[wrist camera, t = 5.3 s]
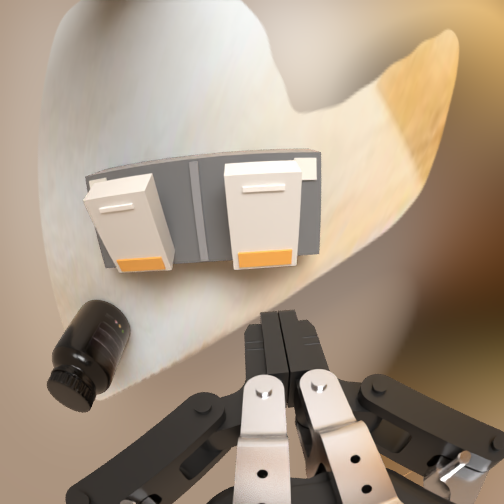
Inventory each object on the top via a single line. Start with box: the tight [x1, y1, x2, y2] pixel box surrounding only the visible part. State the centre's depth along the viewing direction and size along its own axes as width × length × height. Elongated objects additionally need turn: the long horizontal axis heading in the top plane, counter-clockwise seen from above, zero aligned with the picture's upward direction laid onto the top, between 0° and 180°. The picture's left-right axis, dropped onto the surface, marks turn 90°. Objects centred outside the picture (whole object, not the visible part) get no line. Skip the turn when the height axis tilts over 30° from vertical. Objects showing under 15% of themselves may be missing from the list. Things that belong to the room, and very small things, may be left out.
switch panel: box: [85, 149, 321, 268], centre depth 22 cm, size 8×18×4 cm, turn 93°
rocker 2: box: [224, 160, 302, 270], centre depth 18 cm, size 7×4×2 cm, turn 3°
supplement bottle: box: [47, 300, 130, 412], centre depth 23 cm, size 7×7×12 cm
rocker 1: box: [83, 173, 175, 273], centre depth 18 cm, size 7×4×2 cm, turn 3°
